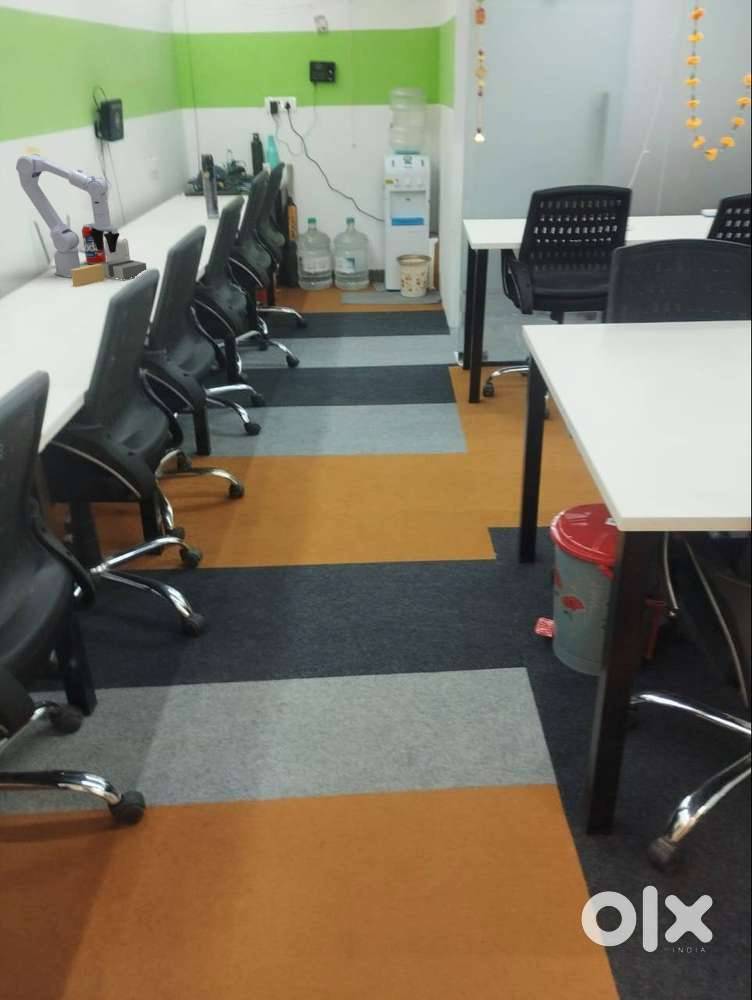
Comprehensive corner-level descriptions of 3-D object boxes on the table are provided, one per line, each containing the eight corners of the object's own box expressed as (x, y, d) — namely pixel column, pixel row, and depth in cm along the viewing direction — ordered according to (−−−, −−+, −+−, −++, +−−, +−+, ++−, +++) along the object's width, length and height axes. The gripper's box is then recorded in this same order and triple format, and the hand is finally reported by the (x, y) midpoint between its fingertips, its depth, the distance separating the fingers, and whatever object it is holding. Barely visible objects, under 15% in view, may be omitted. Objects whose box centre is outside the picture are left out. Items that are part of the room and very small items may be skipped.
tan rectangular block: (73, 285, 310) (70, 269, 307) (100, 279, 318) (98, 263, 316) (77, 286, 309) (74, 270, 306) (104, 280, 317) (102, 264, 314)
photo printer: (132, 267, 336) (128, 235, 331) (125, 269, 333) (120, 237, 327) (113, 264, 341) (109, 232, 335) (106, 266, 338) (101, 234, 332)
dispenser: (100, 275, 324) (99, 263, 322) (125, 269, 332) (123, 258, 330) (122, 280, 317) (121, 268, 315) (147, 275, 325) (145, 263, 323)
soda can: (109, 261, 345) (104, 223, 338) (102, 265, 338) (96, 227, 331) (91, 260, 346) (85, 223, 339) (83, 265, 339) (77, 226, 332)
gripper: (122, 214, 311) (127, 251, 318) (98, 209, 319) (103, 246, 325) (106, 216, 306) (111, 254, 313) (82, 212, 314) (88, 249, 320)
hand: (106, 250), depth 319 cm, fingers open, 7 cm apart
